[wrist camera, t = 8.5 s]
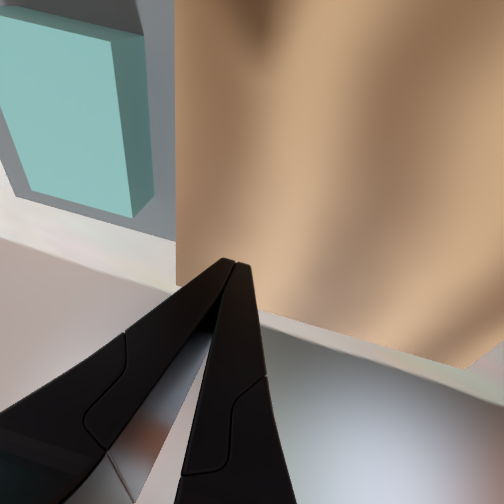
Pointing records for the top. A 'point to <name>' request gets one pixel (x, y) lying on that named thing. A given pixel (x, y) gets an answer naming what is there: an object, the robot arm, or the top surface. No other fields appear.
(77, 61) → the teal tile
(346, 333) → the oak deck
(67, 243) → the top surface
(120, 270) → the top surface
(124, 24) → the slate mat
